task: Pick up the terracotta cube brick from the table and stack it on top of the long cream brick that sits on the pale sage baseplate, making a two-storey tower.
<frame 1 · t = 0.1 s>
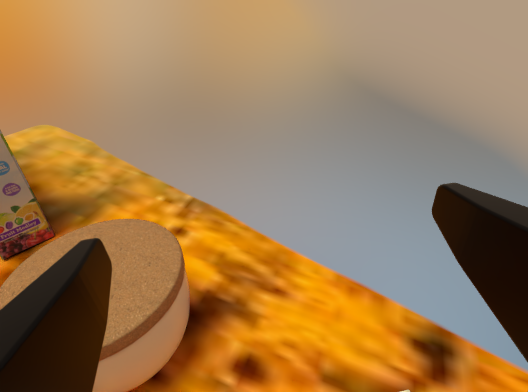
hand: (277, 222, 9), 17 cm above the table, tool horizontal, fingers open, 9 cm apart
lidded jar: (131, 348, 25), on the table
snack box: (9, 209, 41), on the table
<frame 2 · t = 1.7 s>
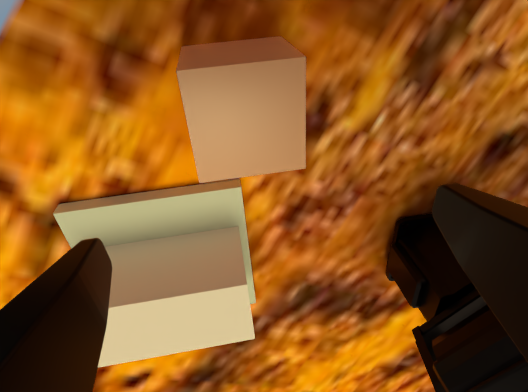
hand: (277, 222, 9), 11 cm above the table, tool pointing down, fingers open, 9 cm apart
baseplate: (171, 255, 24), on the table
bottom brick: (170, 265, 23), point 1 cm above the table, touching baseplate
top brick: (237, 90, 18), on the table
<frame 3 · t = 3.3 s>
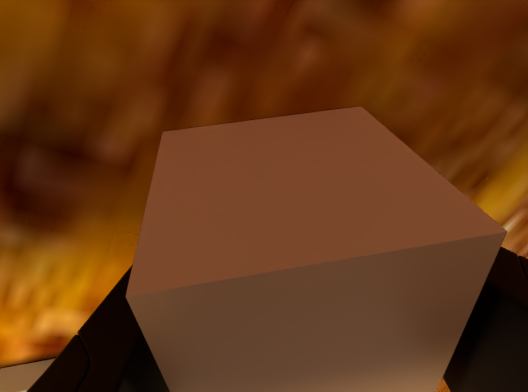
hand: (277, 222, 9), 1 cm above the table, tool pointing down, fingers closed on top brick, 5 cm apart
top brick: (270, 200, 10), on the table, touching gripper
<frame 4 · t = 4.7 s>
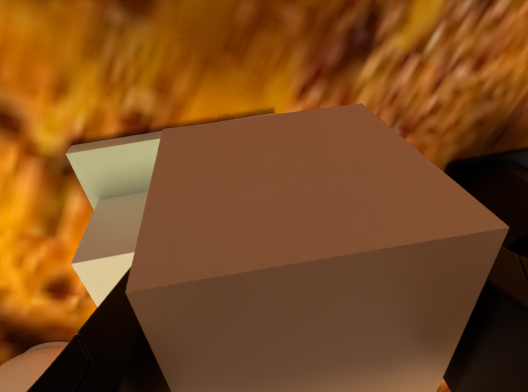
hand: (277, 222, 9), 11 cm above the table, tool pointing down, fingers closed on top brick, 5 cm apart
baseplate: (197, 208, 22), on the table
bottom brick: (197, 218, 21), point 1 cm above the table, touching baseplate
lidded jar: (63, 360, 28), on the table
top brick: (270, 198, 10), point 10 cm above the table, touching gripper
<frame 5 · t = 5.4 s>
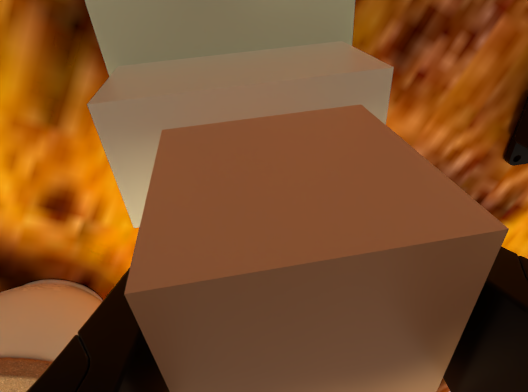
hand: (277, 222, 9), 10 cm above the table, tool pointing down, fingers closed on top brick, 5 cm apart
baseplate: (237, 100, 17), on the table
bottom brick: (239, 107, 16), point 1 cm above the table, touching baseplate
lidded jar: (60, 307, 24), on the table
top brick: (270, 199, 10), point 9 cm above the table, touching gripper
when the fingers open (8 cm above the table, at t = 6.1 s): top brick drops 1 cm, resting on bottom brick.
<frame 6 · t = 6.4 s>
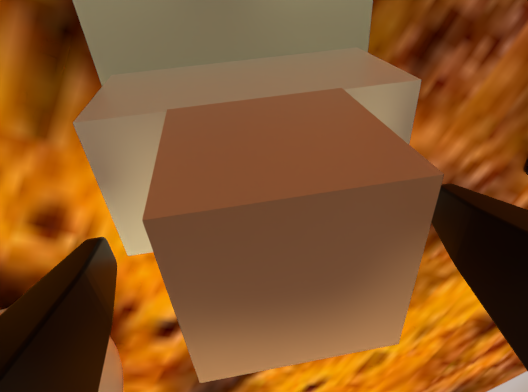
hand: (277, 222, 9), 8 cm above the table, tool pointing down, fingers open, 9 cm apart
baseplate: (242, 111, 16), on the table
bottom brick: (244, 119, 15), point 1 cm above the table, touching baseplate, top brick
lidded jar: (52, 326, 22), on the table
top brick: (262, 174, 11), point 6 cm above the table, touching bottom brick
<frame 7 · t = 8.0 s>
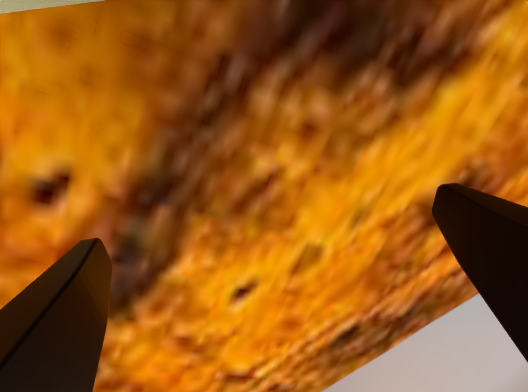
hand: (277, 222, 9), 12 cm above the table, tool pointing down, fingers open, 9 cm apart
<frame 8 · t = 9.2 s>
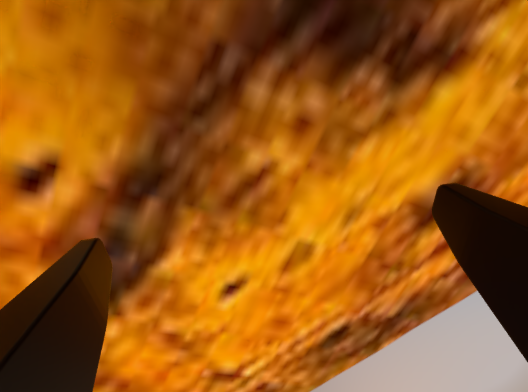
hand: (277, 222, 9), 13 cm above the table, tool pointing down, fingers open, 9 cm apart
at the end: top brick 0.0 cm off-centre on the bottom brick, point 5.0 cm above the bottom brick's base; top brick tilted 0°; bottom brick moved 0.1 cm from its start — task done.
